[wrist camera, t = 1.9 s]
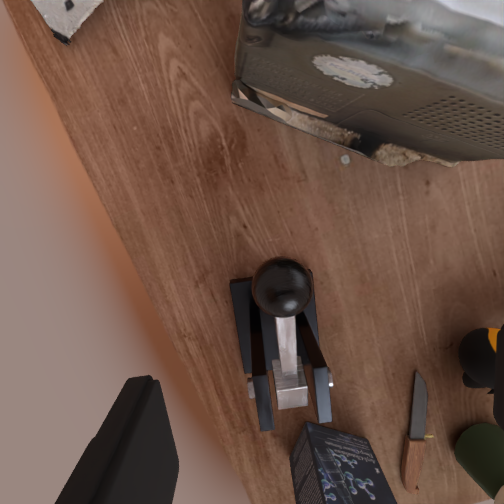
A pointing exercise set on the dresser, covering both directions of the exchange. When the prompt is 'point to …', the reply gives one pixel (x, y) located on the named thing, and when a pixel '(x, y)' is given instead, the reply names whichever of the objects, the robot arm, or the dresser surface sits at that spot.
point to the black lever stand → (266, 349)
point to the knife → (415, 438)
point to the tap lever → (285, 322)
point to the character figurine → (479, 358)
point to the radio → (379, 74)
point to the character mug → (483, 458)
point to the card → (65, 15)
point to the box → (336, 469)
